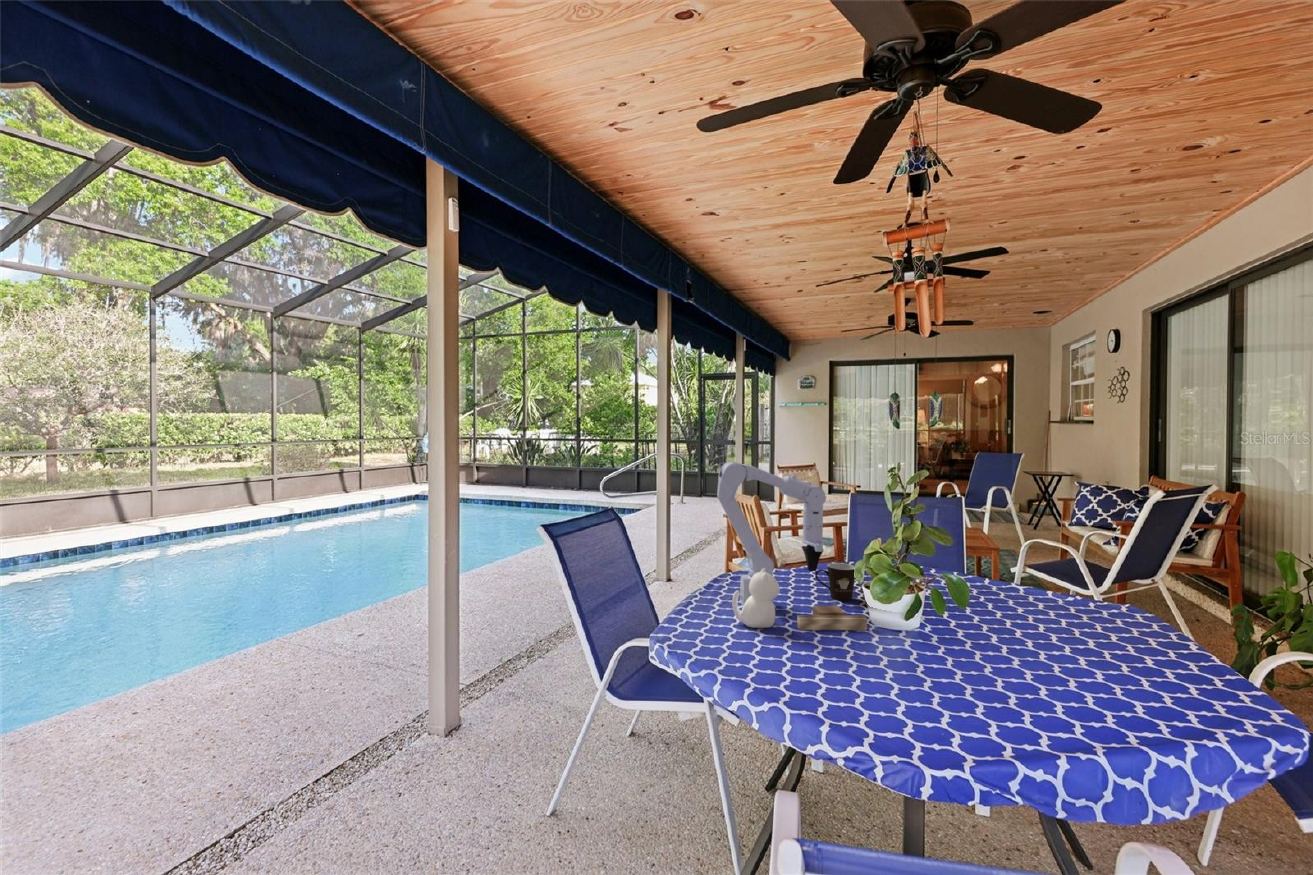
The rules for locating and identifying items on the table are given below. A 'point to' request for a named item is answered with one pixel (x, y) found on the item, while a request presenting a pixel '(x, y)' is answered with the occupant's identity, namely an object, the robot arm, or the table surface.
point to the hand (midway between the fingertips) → (812, 570)
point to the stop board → (831, 622)
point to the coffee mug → (839, 581)
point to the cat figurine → (758, 601)
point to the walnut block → (827, 611)
